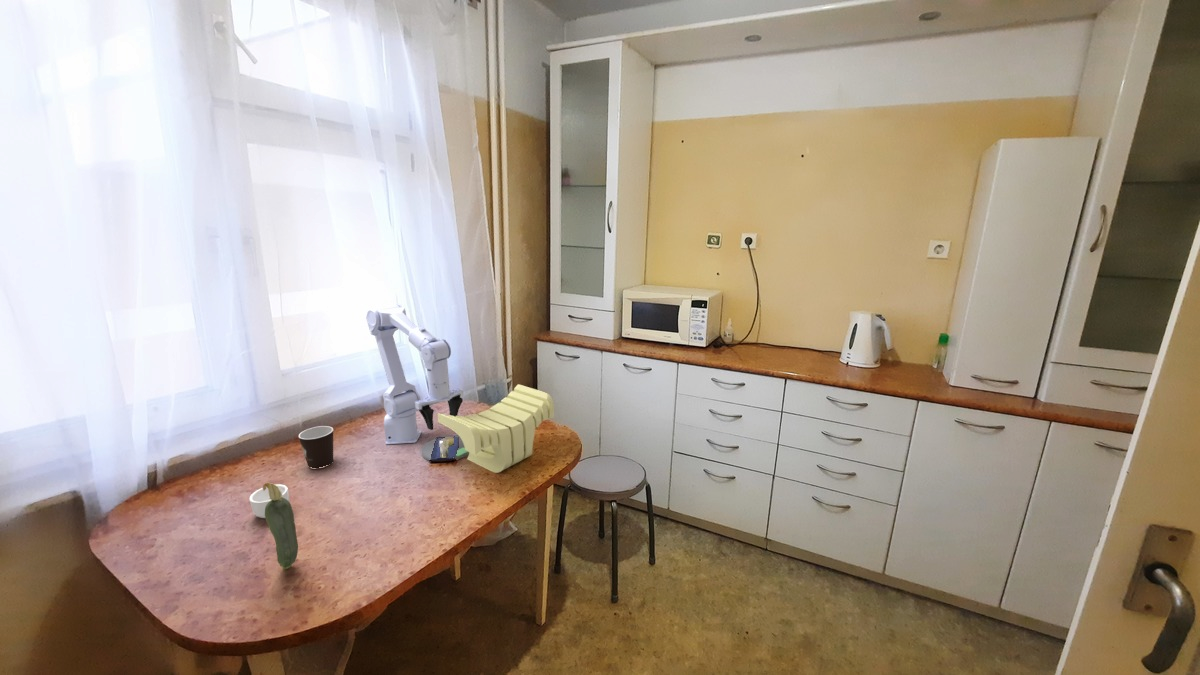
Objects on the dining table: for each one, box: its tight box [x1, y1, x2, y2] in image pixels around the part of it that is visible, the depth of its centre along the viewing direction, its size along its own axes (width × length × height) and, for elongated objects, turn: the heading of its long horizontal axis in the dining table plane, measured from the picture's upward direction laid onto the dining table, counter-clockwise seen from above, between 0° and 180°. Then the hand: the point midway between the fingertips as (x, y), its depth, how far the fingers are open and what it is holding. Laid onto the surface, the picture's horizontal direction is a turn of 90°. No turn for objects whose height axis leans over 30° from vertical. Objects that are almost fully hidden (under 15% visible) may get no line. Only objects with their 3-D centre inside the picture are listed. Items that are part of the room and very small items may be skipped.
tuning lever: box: [439, 437, 454, 458], centre depth 139 cm, size 10×4×5 cm, turn 9°
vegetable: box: [262, 482, 299, 570], centre depth 91 cm, size 4×4×20 cm
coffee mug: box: [298, 425, 334, 468], centre depth 134 cm, size 12×9×10 cm
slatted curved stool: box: [437, 383, 555, 474], centre depth 136 cm, size 30×16×18 cm, turn 143°
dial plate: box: [420, 434, 469, 461], centre depth 143 cm, size 16×16×1 cm
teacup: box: [248, 483, 290, 519], centre depth 112 cm, size 10×8×5 cm
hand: (442, 424), depth 137 cm, fingers open, 7 cm apart
